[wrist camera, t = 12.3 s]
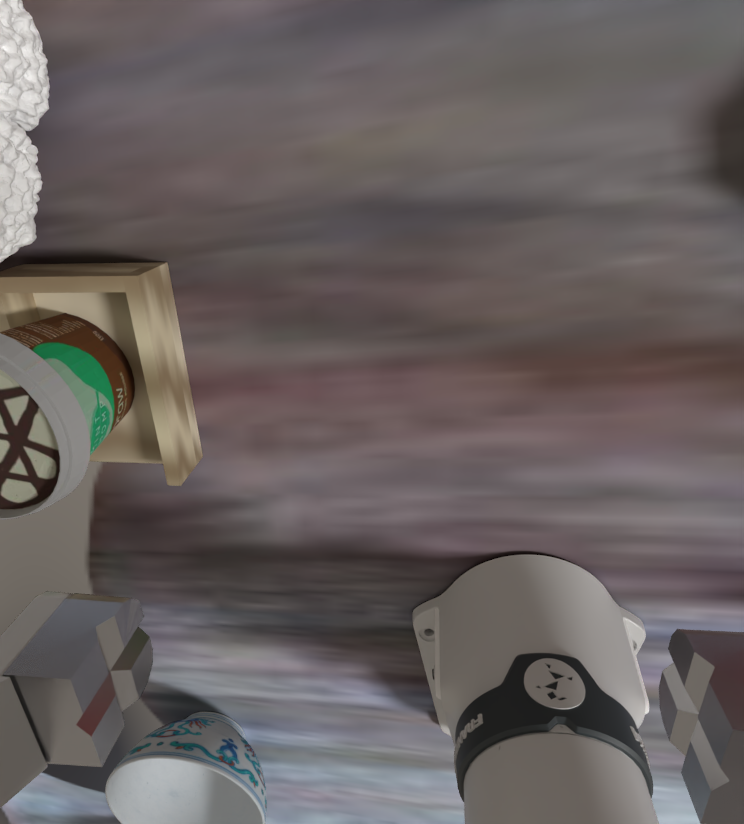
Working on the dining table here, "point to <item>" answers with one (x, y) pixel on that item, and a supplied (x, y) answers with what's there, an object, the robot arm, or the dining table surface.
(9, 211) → the white bumpy round lump
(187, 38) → the dining table surface
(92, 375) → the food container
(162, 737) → the chinaware
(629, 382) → the dining table surface
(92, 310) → the wooden tray
